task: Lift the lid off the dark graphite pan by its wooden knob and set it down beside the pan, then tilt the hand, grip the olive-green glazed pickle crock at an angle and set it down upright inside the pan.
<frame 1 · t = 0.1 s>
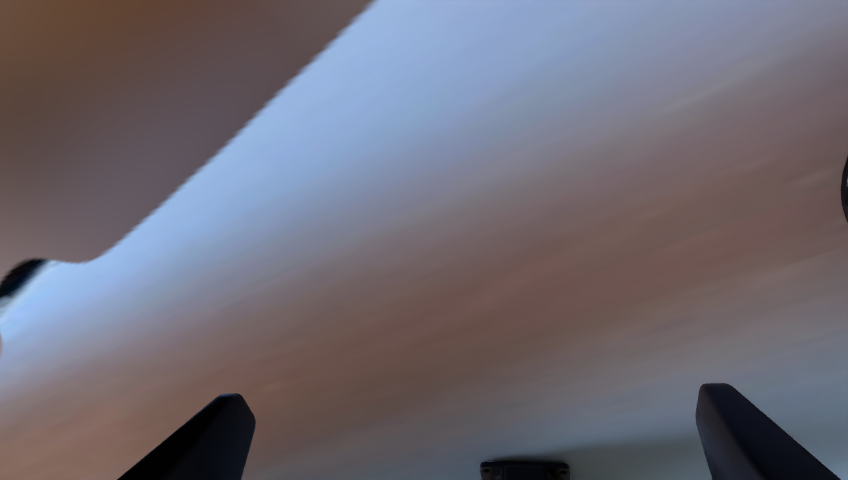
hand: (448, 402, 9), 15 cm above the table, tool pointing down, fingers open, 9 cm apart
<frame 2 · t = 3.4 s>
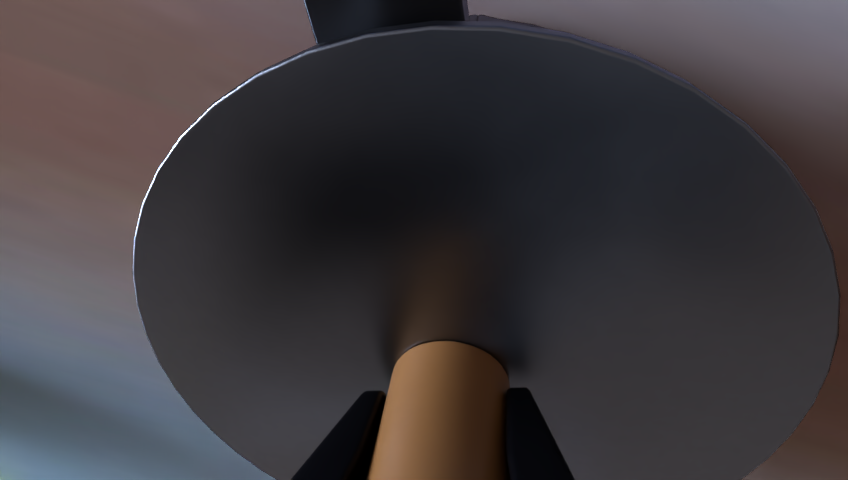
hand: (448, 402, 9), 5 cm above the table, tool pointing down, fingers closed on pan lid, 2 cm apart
pan: (465, 249, 13), on the table
pan lid: (452, 363, 10), point 4 cm above the table, touching gripper, pan
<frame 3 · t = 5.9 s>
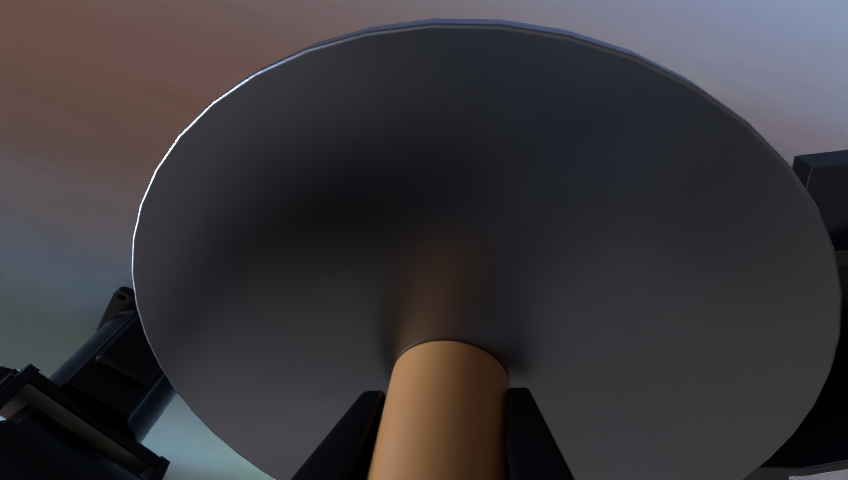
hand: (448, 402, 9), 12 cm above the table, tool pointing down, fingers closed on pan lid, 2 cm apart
pan: (752, 307, 21), on the table
pan lid: (452, 363, 10), point 11 cm above the table, touching gripper
when the fingers open (2 cm above the table, at t = 8.6 s): pan lid stays where it is, point 1 cm above the table.
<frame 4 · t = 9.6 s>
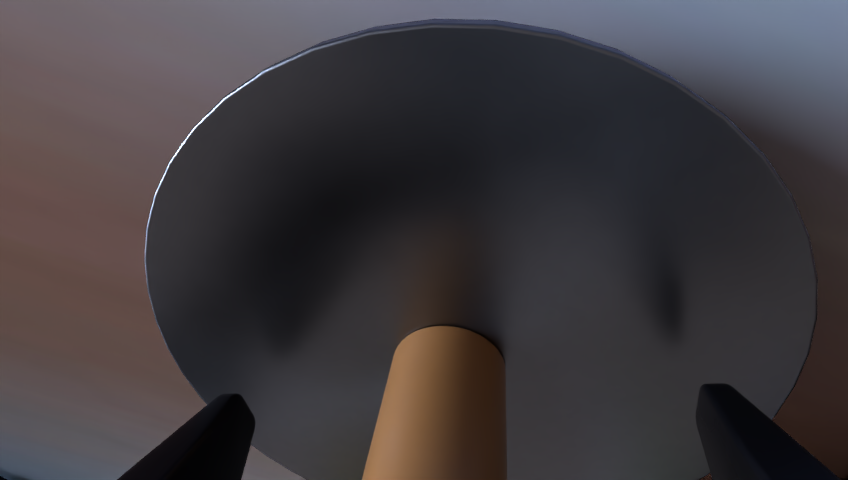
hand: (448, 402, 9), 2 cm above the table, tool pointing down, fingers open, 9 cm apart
pan lid: (450, 348, 10), point 1 cm above the table
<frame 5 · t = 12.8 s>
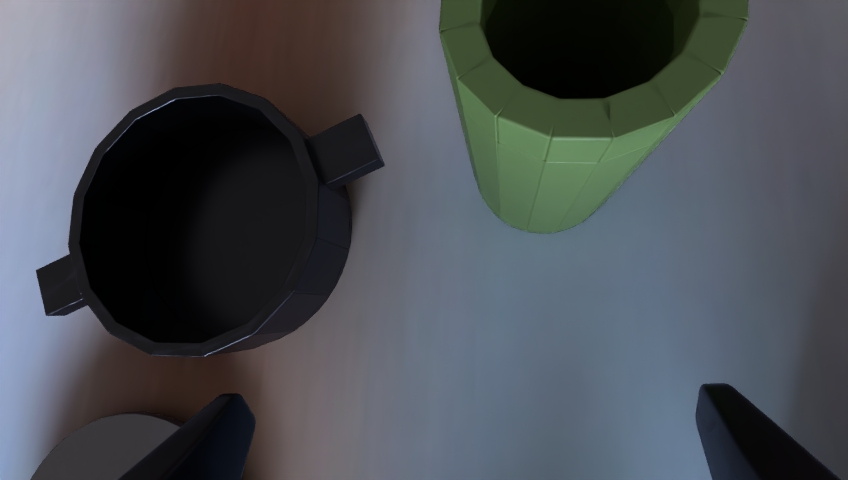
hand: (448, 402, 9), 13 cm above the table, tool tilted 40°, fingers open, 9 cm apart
pan: (242, 230, 25), on the table
crock: (542, 168, 22), on the table
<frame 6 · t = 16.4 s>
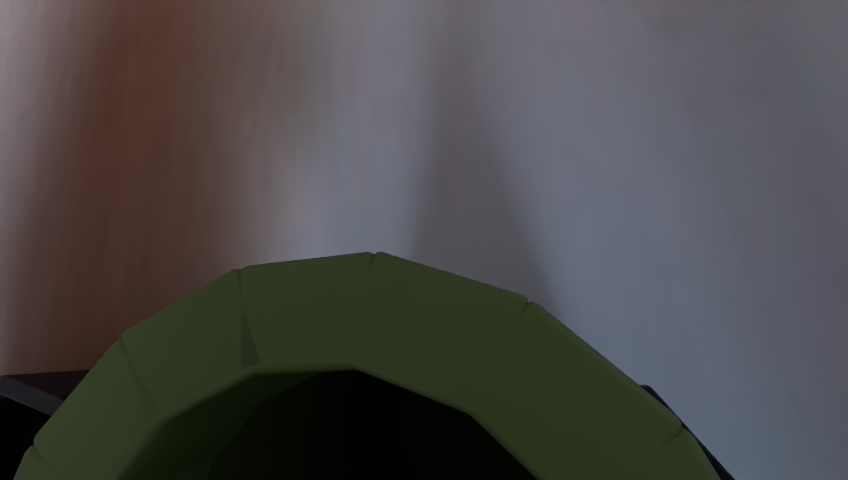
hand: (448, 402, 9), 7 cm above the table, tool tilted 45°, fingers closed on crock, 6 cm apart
crock: (488, 420, 15), on the table, touching gripper
when the fingers open (7 cm above the table, at t = 23.5 s): crock stays where it is, resting on pan.
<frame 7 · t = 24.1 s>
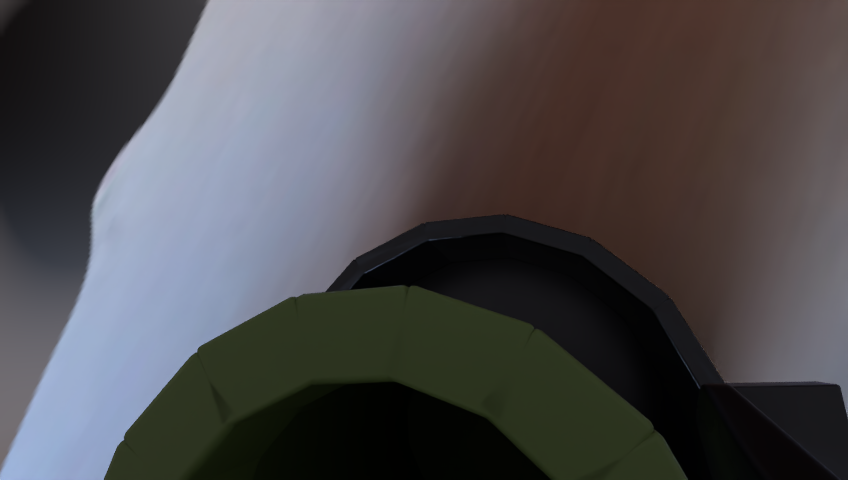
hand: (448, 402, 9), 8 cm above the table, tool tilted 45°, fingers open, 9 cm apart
pan: (492, 415, 16), on the table
crock: (491, 421, 16), resting on pan
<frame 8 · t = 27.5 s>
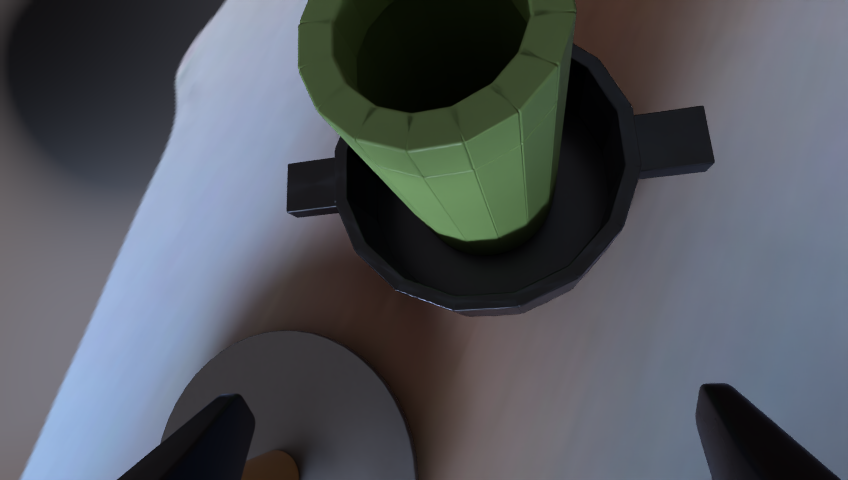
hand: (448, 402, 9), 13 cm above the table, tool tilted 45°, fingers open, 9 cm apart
pan: (486, 190, 23), on the table
pan lid: (281, 474, 22), point 1 cm above the table
crock: (485, 190, 22), resting on pan
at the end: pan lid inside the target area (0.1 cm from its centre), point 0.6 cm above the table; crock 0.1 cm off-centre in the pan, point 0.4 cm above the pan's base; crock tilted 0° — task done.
